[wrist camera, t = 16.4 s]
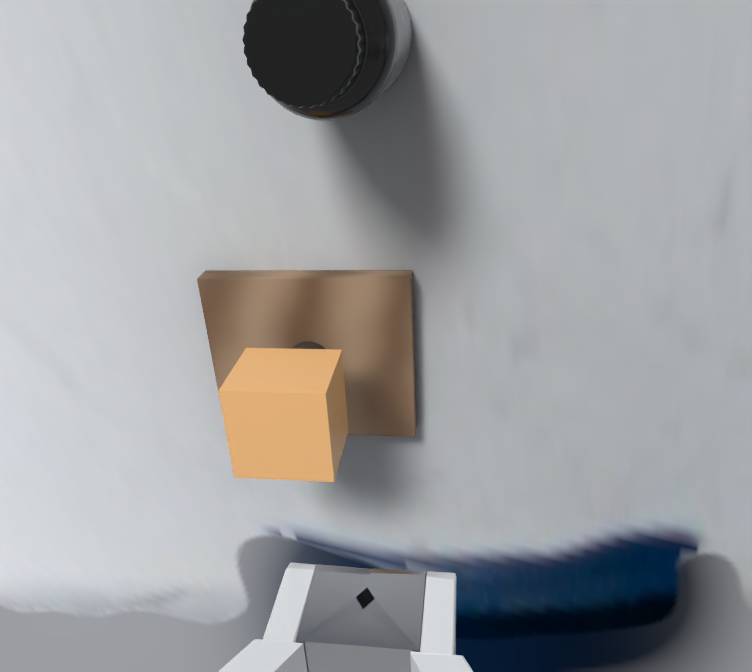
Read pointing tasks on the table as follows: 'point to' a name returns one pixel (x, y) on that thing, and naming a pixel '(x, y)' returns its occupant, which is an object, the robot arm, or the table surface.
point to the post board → (324, 332)
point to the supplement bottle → (326, 52)
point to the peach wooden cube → (286, 414)
